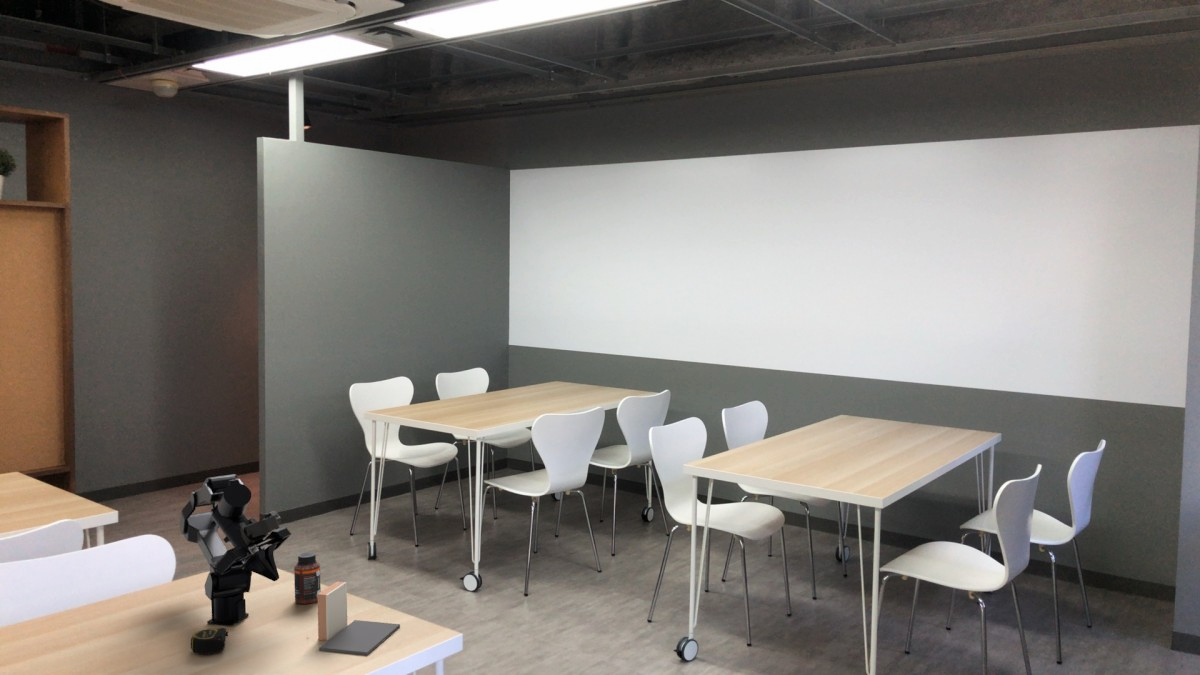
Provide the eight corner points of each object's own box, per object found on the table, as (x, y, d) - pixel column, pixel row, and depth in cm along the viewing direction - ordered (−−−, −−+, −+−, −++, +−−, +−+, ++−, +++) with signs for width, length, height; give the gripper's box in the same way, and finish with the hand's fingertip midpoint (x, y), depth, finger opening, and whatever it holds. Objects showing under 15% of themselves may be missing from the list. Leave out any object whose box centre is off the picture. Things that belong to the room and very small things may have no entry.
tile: (318, 639, 183) (317, 594, 182) (337, 625, 191) (336, 581, 190) (328, 640, 182) (327, 594, 182) (347, 625, 190) (346, 582, 190)
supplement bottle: (326, 599, 206) (325, 553, 206) (304, 606, 202) (303, 560, 201) (310, 594, 210) (310, 549, 209) (289, 601, 205) (288, 555, 204)
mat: (319, 650, 177) (319, 647, 177) (355, 622, 192) (355, 620, 192) (367, 655, 175) (367, 652, 175) (399, 626, 190) (399, 624, 190)
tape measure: (224, 655, 175) (224, 637, 175) (188, 659, 173) (187, 641, 173) (228, 642, 182) (228, 625, 182) (193, 646, 180) (193, 629, 180)
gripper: (225, 514, 179) (269, 572, 176) (284, 492, 197) (324, 544, 194) (196, 546, 182) (239, 603, 180) (256, 522, 200) (296, 573, 197)
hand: (277, 579), depth 188 cm, fingers closed
